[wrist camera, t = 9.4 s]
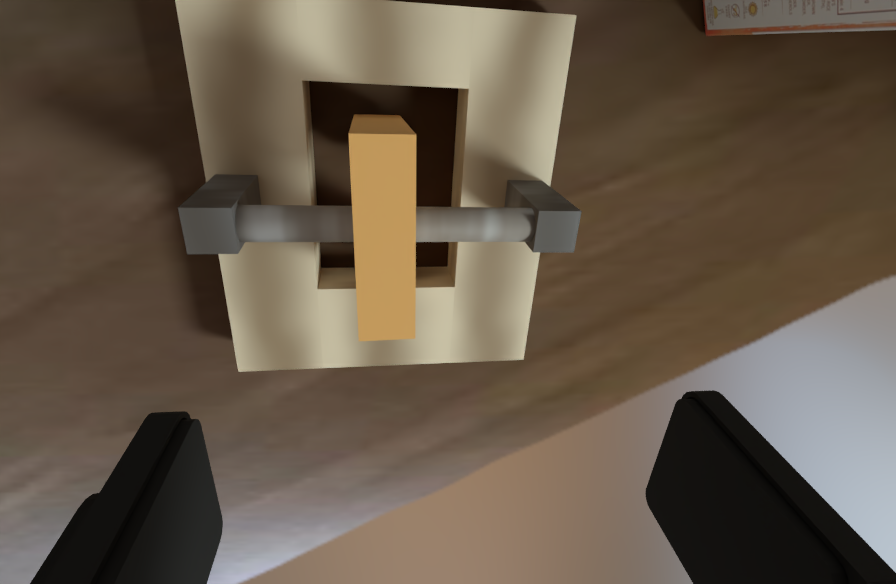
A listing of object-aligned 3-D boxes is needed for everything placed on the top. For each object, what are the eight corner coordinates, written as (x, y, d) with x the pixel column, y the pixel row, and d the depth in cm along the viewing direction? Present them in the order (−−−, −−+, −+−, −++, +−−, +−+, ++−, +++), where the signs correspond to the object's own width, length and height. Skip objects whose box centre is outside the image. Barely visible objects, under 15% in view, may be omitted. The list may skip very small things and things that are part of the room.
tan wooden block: (399, 115, 26) (416, 134, 17) (400, 262, 29) (415, 338, 21) (354, 114, 26) (348, 133, 17) (360, 263, 29) (358, 341, 20)
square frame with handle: (554, 17, 26) (632, 8, 18) (511, 335, 35) (551, 415, 27) (194, -10, 23) (112, -35, 15) (248, 344, 32) (213, 436, 25)
